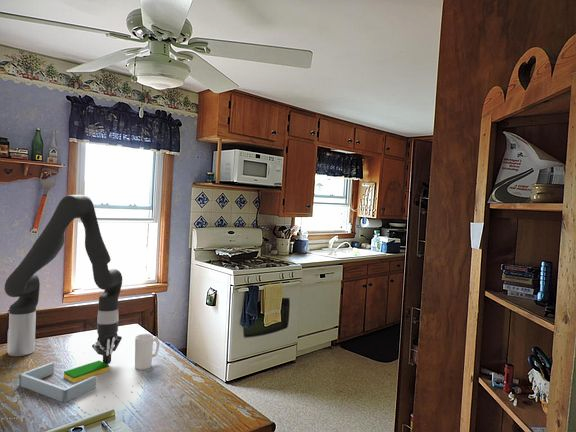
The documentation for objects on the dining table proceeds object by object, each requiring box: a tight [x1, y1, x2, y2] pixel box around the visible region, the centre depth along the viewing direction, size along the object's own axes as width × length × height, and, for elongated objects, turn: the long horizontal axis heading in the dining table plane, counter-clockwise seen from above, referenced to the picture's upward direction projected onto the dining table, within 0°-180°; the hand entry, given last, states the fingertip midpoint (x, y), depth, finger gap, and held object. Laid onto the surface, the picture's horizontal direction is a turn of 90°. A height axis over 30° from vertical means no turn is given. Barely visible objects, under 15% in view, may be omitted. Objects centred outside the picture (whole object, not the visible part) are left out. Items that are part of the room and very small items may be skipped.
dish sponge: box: [63, 360, 110, 383], centre depth 150 cm, size 7×14×2 cm, turn 146°
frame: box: [18, 361, 97, 403], centre depth 139 cm, size 23×12×4 cm, turn 66°
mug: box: [134, 333, 160, 371], centre depth 160 cm, size 10×7×12 cm, turn 137°
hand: (106, 363), depth 157 cm, fingers closed
